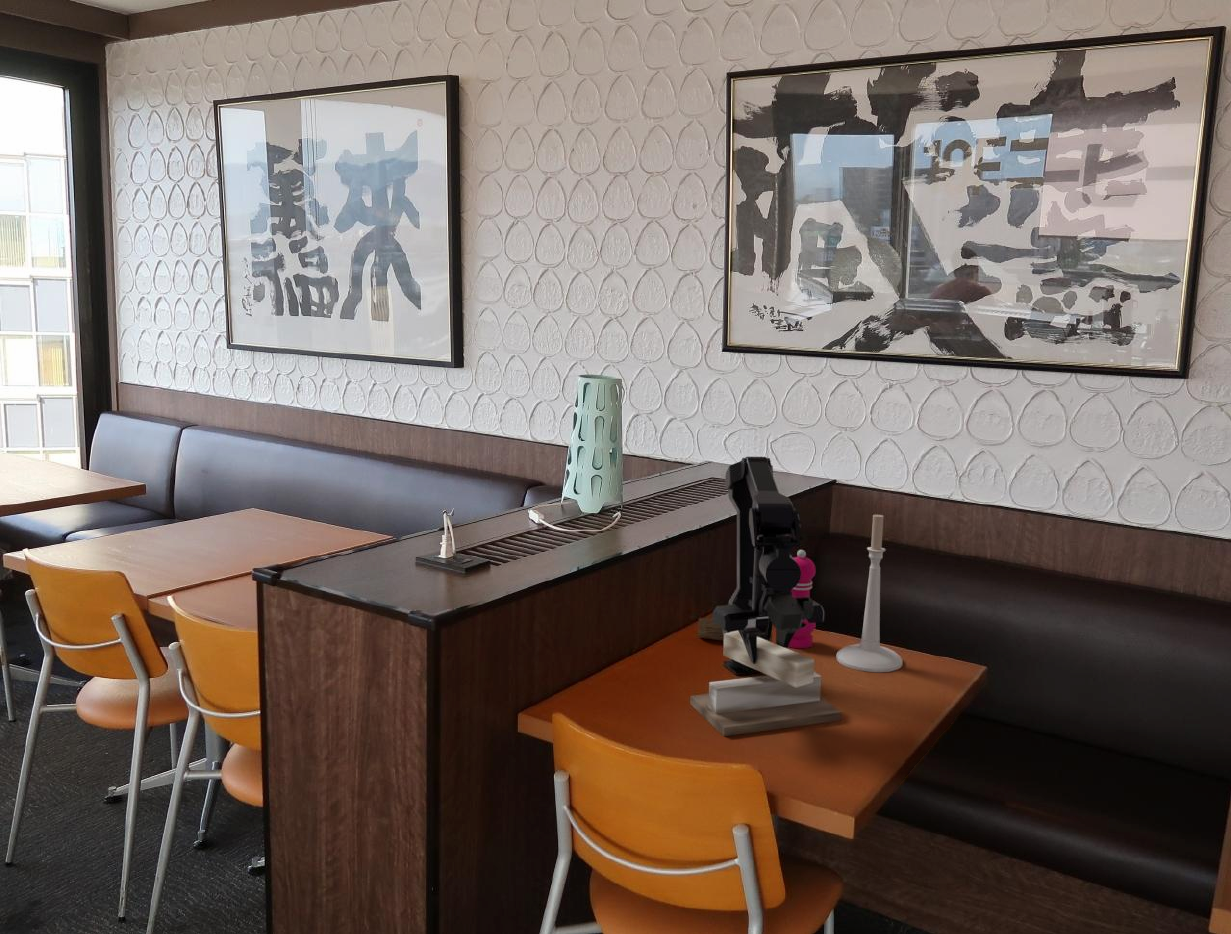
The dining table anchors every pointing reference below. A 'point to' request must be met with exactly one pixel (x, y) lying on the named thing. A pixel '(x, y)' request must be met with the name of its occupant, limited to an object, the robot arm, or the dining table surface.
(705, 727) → the dining table surface
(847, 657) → the candlestick
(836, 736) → the dining table surface
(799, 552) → the pepper mill
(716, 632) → the wood plank
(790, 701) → the ridge stand
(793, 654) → the cream beige bar
